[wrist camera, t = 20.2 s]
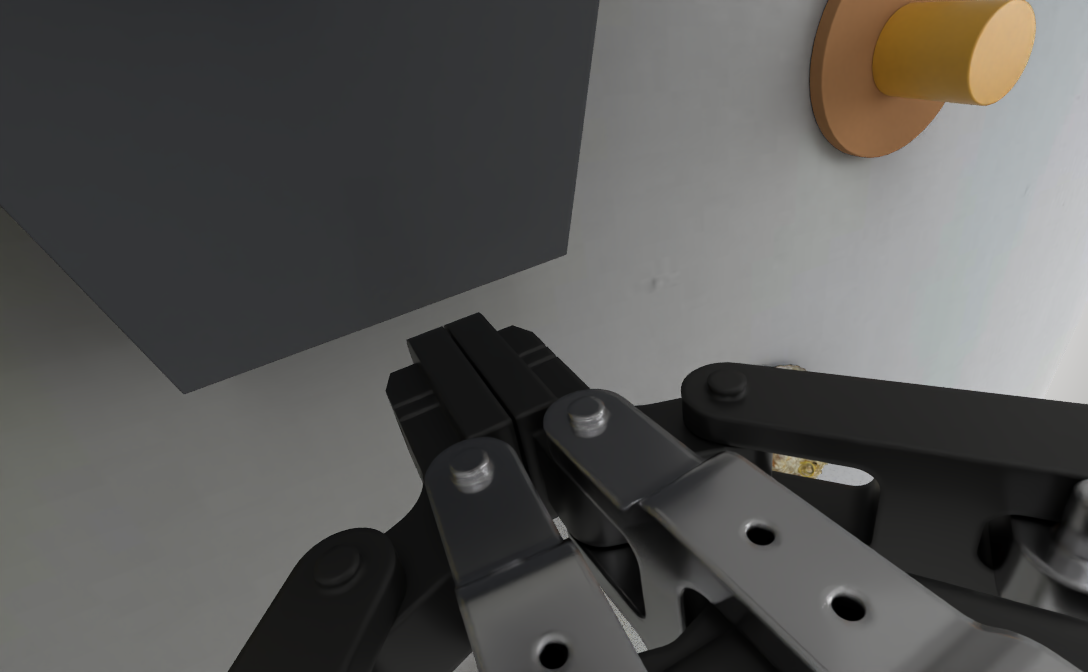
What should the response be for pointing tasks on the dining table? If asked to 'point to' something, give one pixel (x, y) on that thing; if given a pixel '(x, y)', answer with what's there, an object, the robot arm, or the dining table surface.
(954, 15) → the orange cylinder
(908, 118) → the coaster
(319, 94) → the lid
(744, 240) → the dining table surface
